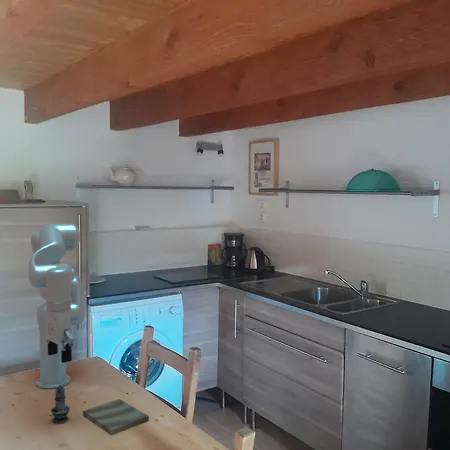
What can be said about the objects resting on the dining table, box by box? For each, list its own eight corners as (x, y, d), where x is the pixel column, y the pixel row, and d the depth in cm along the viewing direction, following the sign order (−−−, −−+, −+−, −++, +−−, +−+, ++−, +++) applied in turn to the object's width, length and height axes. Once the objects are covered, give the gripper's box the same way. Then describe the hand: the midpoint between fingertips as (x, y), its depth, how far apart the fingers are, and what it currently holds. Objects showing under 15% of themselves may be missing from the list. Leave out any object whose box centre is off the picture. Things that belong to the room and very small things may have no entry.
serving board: (83, 415, 167) (82, 410, 166) (119, 402, 176) (119, 398, 176) (111, 435, 154) (111, 430, 154) (148, 420, 163) (148, 416, 163)
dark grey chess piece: (72, 415, 166) (71, 380, 165) (66, 424, 160) (66, 388, 159) (54, 415, 166) (53, 380, 165) (48, 424, 160) (47, 388, 159)
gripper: (36, 303, 164) (37, 354, 165) (59, 312, 151) (60, 367, 152) (57, 300, 169) (58, 349, 170) (82, 308, 156) (83, 362, 158)
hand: (59, 358), depth 161 cm, fingers open, 9 cm apart
